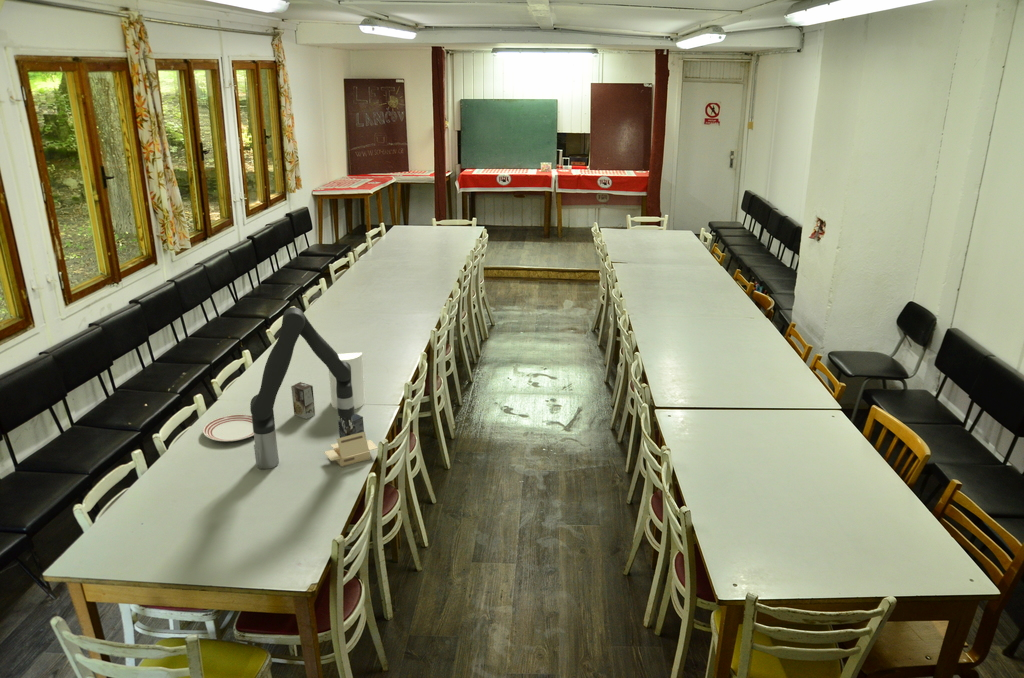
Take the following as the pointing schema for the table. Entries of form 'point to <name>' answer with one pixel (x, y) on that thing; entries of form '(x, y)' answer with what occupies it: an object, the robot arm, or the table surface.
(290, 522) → the table surface
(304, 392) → the coffee box
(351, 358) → the cylinder
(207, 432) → the dinner plate
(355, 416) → the small box
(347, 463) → the carton
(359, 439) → the front flap
